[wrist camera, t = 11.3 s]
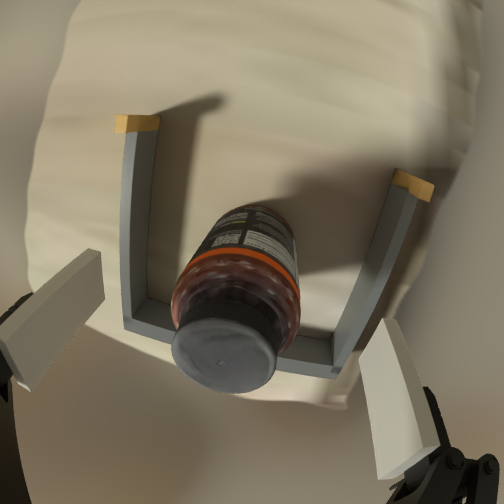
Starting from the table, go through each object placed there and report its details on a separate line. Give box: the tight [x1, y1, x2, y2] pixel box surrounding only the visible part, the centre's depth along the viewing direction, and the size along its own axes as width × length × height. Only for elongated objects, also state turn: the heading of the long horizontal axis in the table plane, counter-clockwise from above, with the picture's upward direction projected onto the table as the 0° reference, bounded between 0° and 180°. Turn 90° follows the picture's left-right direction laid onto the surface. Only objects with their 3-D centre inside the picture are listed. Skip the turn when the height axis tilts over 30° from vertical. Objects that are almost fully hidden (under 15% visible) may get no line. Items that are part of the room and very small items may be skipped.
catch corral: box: [114, 115, 435, 379], centre depth 18 cm, size 16×18×4 cm
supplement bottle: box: [171, 206, 301, 394], centre depth 15 cm, size 6×6×11 cm
